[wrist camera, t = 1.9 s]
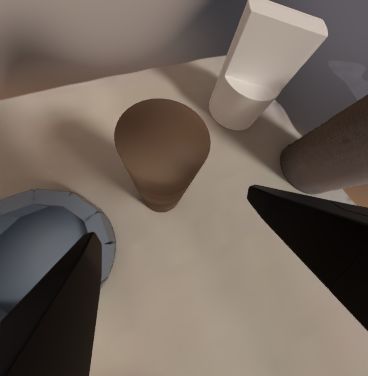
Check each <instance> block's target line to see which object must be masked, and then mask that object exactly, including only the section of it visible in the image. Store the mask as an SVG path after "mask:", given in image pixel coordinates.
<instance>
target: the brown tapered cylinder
mask: <svg viewBox="0 0 368 376" xmlns="http://www.w3.org/2000/svg"><path fill="white" fill-rule="evenodd" d="M114 140H115V146H116V149H117V151H118V153H119V155H120V157H121V159H122V161H123V163H124V165H125V167H126V168H127V170H128V172H129V174H130V176H131V178H132V180H133V182H134V184H135V185H136V187H137V189H138V191H139V193H140V195H141V197H142V199H143V200H144V202H145V204H146V205H147V207H148V208H150V209H151V210H153V211H156V212H166V211H169V210H171V209H173V208H174V207H175V206H176V205H177V203H178V202H179V200H180V199H181V197H182V196H183V194H184V192H185V191H186V189H187V188H188V186H189V185H190V183H191V182H192V180H193V179H194V177H195V176H196V174H197V173H198V171H199V170H200V168H201V167H202V165H203V164H204V162H205V160H206V159H207V157H208V154H209V150H210V135H209V131H208V129H207V127H206V125H205V123H204V121H203V120H202V119H201V117H200V116H199V115H198V114H197V113H196V112H195V111H193V110H192V109H191V108H189V107H188V106H186V105H184V104H182V103H179V102H177V101H173V100H169V99H149V100H145V101H141V102H139V103H136V104H134V105H133V106H131V107H130V108H128V109H127V110H126V111H125V112H124V113H123V114H122V116H121V117H120V118H119V120H118V122H117V125H116V128H115V133H114Z"/></svg>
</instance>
